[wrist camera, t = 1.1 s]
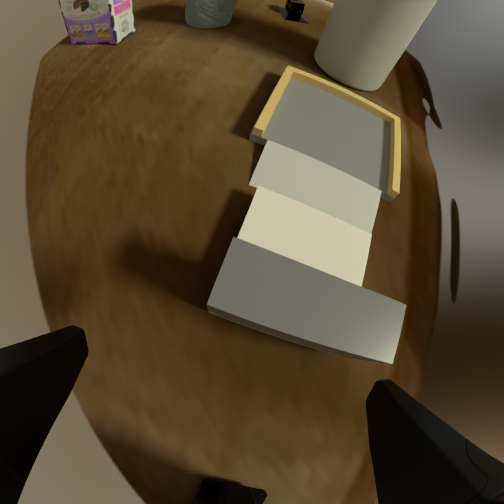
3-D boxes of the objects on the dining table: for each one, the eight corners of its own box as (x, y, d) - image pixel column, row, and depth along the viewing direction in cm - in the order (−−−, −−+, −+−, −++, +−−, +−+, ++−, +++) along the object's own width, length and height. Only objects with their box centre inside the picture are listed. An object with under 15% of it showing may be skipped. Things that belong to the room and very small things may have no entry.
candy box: (137, 30, 33) (130, -40, 18) (116, 45, 31) (104, -30, 16) (89, 30, 33) (77, -29, 17) (69, 45, 31) (53, -16, 15)
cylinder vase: (384, 103, 35) (461, -5, 11) (313, 77, 34) (372, -57, 10) (373, 64, 39) (427, -27, 15) (312, 43, 37) (354, -63, 14)
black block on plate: (272, 4, 43) (275, -10, 38) (301, 9, 44) (306, -5, 39) (281, 23, 39) (286, 6, 35) (314, 29, 41) (320, 13, 36)
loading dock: (380, 245, 28) (397, 236, 25) (229, 181, 28) (232, 164, 24) (391, 131, 34) (401, 119, 31) (281, 80, 33) (286, 64, 30)
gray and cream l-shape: (331, 354, 23) (392, 363, 14) (208, 313, 23) (206, 304, 14) (361, 241, 27) (417, 204, 18) (254, 196, 27) (276, 135, 18)
